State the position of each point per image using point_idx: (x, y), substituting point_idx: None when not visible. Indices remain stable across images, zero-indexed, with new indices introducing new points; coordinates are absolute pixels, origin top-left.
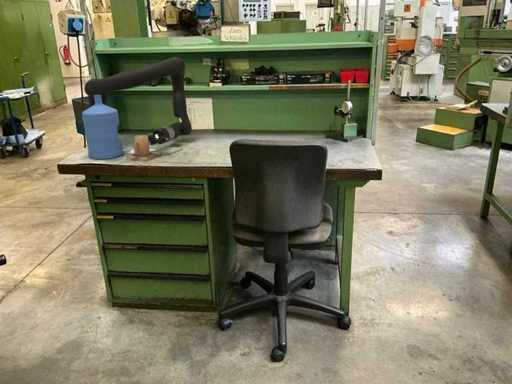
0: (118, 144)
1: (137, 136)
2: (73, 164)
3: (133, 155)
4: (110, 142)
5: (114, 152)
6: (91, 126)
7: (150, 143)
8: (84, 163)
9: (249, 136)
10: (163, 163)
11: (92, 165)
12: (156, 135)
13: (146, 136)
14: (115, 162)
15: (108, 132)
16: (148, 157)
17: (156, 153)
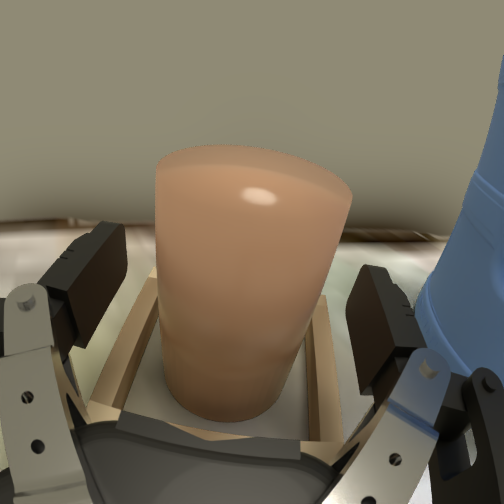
0: (465, 285)
1: (300, 172)
2: (443, 241)
3: (310, 340)
4: (458, 223)
5: (427, 295)
6: None
7: (124, 252)
8: (430, 250)
9: None
10: (39, 261)
11: (380, 233)
12: (52, 463)
13: (169, 164)
14: (332, 265)
15: (483, 153)
16: (141, 291)
17: (102, 390)
